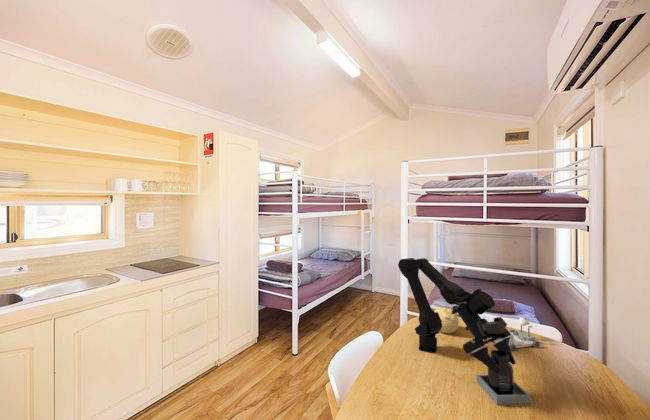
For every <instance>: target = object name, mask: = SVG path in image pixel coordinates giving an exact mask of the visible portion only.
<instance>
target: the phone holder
mask: <svg viewBox="0 0 650 420" xmlns="http://www.w3.org/2000/svg"><path fill="white" fill-rule="evenodd" d="M518 319H519V324H520V331H517V330H515V329H513V328H512V329H510V330H508V331H509V332H510V334H511V335H510V336H508V337H510V339H509V347H510V350H511V352H512V353H513V352H516V351H517V350H518V349H521V348H527V347H533V348H534V349H536V348H540V345H541V343H540V341H538V340H536V337H535V336H534V335H531V334H530V329H532V328H533V325H532V324H530V322H529V321H528V320H527V317H525V318H523V317H522V316H520V317H519V318H518ZM523 326H525V328H527V332H525V331H523ZM508 337H506V338H508Z"/></svg>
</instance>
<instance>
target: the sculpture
mask: <svg viewBox="0 0 650 420" xmlns="http://www.w3.org/2000/svg"><path fill="white" fill-rule="evenodd" d="M452 310H453V309H451V308H449V307H446V306H444V307H440V308H437V309H435V310H433V311H434V312H438V313H439V316H440V319H441V320H442V322H441V323H442V328H441V330H440V331H439V332H441V333H444V334H453V333H454V332H456V331H457V330H458V328H459V316H458V313H456V314H452Z"/></svg>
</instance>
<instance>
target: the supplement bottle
mask: <svg viewBox="0 0 650 420" xmlns="http://www.w3.org/2000/svg"><path fill="white" fill-rule="evenodd" d="M490 357H491V359H492V360H493V362H494V363H495V365H496V367H497V369H498V370H499V372H498V373H495V372H494V371H493V370H491V369H490V368H489V367H487V375H488V385H489V387H490V388H491V389H492V390H493V391H494V392H495V393H496V394H497V395H513V381H514V368H513V365H512V364H511V363H510V362H509V356H508V354H506V353H505V352H503V351H499V350H497V349H494V350H491V351H490Z"/></svg>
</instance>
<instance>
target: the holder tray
mask: <svg viewBox="0 0 650 420" xmlns="http://www.w3.org/2000/svg"><path fill="white" fill-rule="evenodd" d="M476 383H477V384H478V386H480V387H481V389H482V390H483V391H484V392H485V393H486V395H487V396H488V397H489V398H490V399H492V401H493V402H494V403H495V404H496V405H498V406H501V405H502V406H503V405H507V406H509V405H531V395H530V394H529V393H528V392H527V391H525V390H524V388H522V387H521V386H520V385H519V384H518V383H517V382H516V381H515V380H513V395H497V394H496V393H495V392H494V391H493V390H492V389H491V388H490V387H489V385H488V374H476Z"/></svg>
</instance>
